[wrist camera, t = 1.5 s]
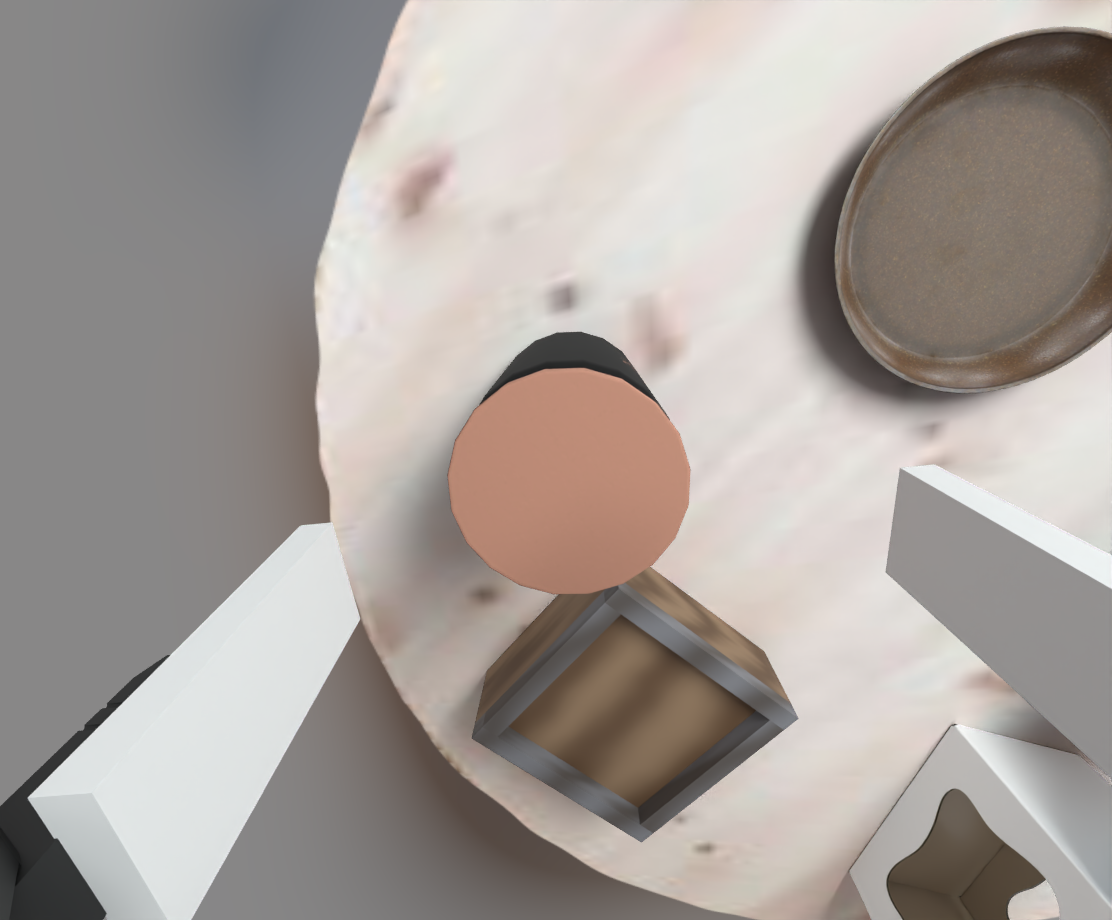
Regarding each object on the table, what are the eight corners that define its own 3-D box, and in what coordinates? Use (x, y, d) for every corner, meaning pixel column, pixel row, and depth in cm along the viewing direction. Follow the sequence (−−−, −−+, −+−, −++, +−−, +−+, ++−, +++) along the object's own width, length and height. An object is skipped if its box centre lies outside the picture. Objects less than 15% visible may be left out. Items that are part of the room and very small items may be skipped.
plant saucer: (795, 385, 38) (815, 394, 35) (842, 55, 32) (871, 31, 29) (1080, 383, 38) (1126, 392, 35) (1190, 44, 31) (1259, 18, 28)
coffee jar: (628, 474, 41) (666, 609, 24) (496, 458, 41) (440, 582, 24) (652, 339, 37) (716, 385, 20) (508, 321, 37) (452, 352, 20)
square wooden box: (764, 651, 46) (798, 718, 39) (632, 764, 51) (641, 842, 44) (611, 538, 43) (618, 588, 36) (486, 670, 48) (471, 738, 41)
